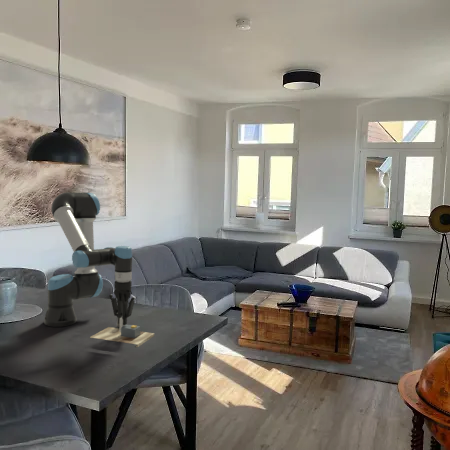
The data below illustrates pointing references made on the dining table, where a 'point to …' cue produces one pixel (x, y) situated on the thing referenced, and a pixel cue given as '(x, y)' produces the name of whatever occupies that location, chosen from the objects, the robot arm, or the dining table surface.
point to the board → (115, 335)
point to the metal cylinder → (117, 323)
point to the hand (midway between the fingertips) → (122, 331)
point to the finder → (130, 331)
